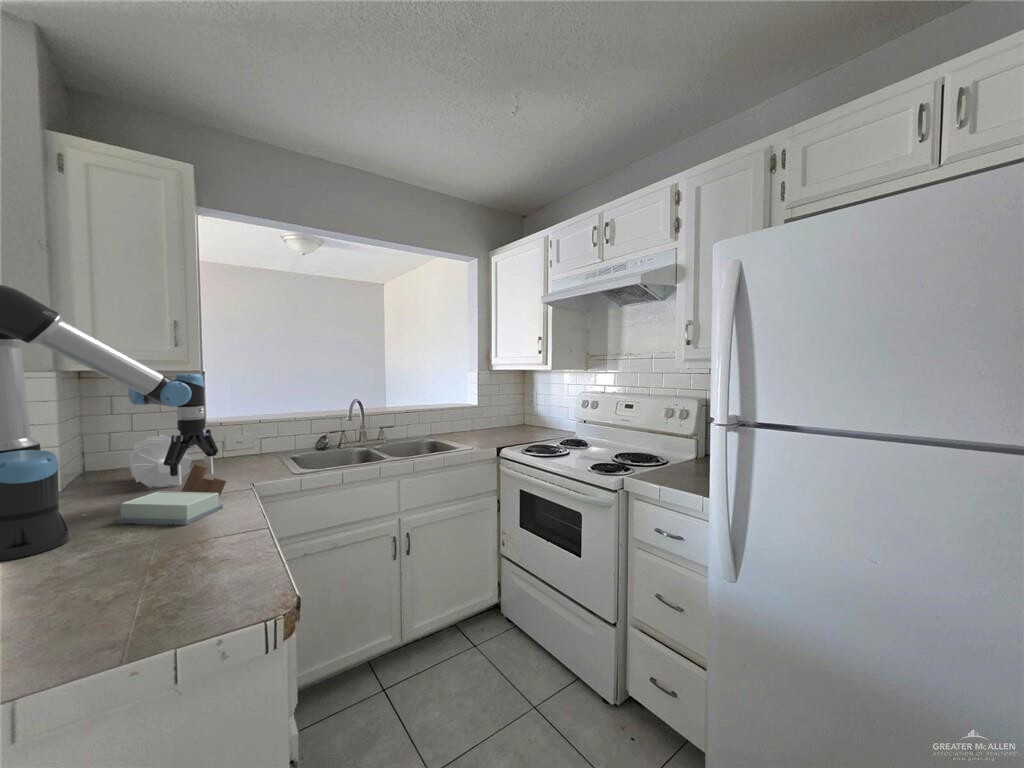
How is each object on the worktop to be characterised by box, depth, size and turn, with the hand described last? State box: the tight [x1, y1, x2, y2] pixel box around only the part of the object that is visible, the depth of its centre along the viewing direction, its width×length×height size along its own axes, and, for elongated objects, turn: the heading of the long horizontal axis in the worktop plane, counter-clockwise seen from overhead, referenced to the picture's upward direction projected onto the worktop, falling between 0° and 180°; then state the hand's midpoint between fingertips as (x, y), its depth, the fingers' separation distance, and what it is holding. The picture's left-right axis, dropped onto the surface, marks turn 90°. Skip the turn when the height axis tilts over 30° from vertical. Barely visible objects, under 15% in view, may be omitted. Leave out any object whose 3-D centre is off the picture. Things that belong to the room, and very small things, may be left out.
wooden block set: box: [180, 464, 227, 498], centre depth 146 cm, size 18×9×10 cm, turn 58°
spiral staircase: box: [127, 433, 193, 489], centre depth 160 cm, size 18×18×25 cm
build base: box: [115, 491, 224, 526], centre depth 124 cm, size 14×21×5 cm, turn 87°
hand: (193, 479), depth 143 cm, fingers open, 13 cm apart
